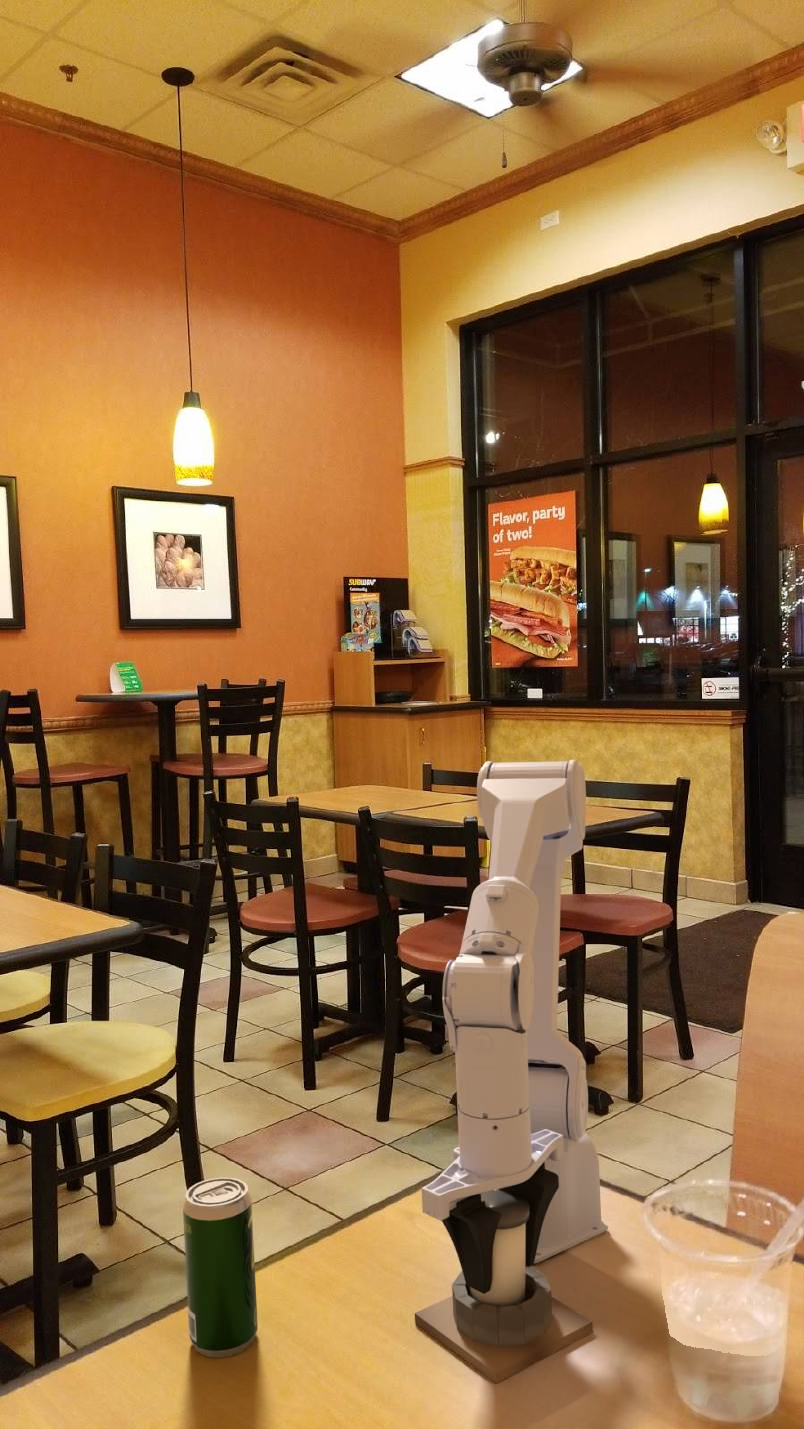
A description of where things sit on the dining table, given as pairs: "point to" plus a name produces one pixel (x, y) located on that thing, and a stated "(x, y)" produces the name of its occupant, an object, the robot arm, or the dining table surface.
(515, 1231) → the grey-capped cream cylinder
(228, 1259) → the green guarana soda can
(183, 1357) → the dining table surface
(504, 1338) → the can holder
